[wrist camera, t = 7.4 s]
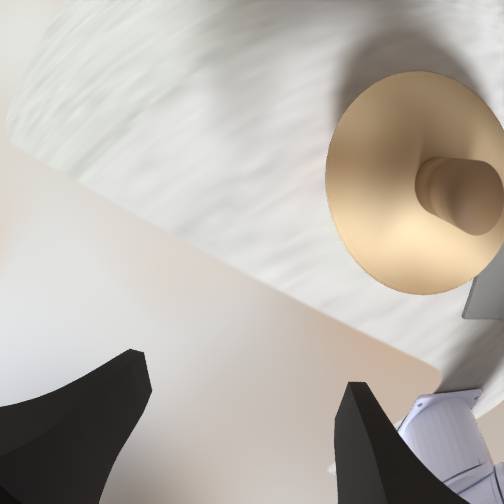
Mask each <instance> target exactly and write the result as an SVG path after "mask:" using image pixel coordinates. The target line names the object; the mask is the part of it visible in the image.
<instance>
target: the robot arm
mask: <svg viewBox="0 0 504 504" xmlns="http://www.w3.org/2000/svg"><path fill="white" fill-rule="evenodd" d="M151 393H152V388H151V383H150V379H149V374H148V370H147V365H146V360H145V355H144V352H140V351H137V350H132V349H129V350H127V351H125V352H123V353H122V354H120V355H118V356H117V357H115V358H113V359H112V360H110V361H108V362H107V363H105V364H103V365H102V366H100V367H98V368H97V369H95V370H93V371H92V372H90V373H88V374H86V375H85V376H83V377H81V378H79V379H77V380H75V381H73V382H72V383H69V384H68V385H66V386H64V387H62V388H59V389H57V390H55V391H53V392H50V393H48V394H45V395H43V396H40V397H37V398H34V399H31V400H27V401H24V402H20V403H17V404H13V405H8V406H3V407H0V504H99V500H100V497H101V494H102V492H103V489H104V486H105V483H106V481H107V478H108V476H109V473H110V471H111V469H112V466H113V464H114V462H115V460H116V458H117V456H118V454H119V452H120V451H121V449H122V447H123V446H124V444H125V442H126V441H127V439H128V437H129V436H130V434H131V432H132V431H133V429H134V427H135V426H136V424H137V422H138V421H139V419H140V417H141V416H142V414H143V412H144V410H145V407H146V405H147V403H148V400H149V398H150V395H151ZM481 394H482V390H481V389H474V390H467V391H459V392H450V393H440V394H428V395H421V396H419V397H418V398H417V399H416V401H415V403H414V405H413V407H412V408H411V410H410V412H409V414H408V415H407V417H406V419H405V420H404V422H403V424H402V425H401V427H400V428H399V430H398V432H397V430H396V429H395V427H394V426H393V424H392V423H391V422H390V420H389V419H388V417H387V416H386V414H385V412H384V411H383V409H382V408H381V406H380V405H379V403H378V401H377V400H376V398H375V397H374V395H373V393H372V392H371V390H370V388H369V386H368V385H367V383H366V382H348V385H347V387H346V390H345V393H344V396H343V399H342V401H341V404H340V407H339V409H338V412H337V415H336V417H335V429H334V448H335V461H336V474H337V487H338V504H504V463H503V462H500V463H499V464H498V465H495V464H494V463H493V461H492V458H491V456H490V453H489V450H488V448H487V445H486V443H485V441H484V438H483V436H482V434H481V431H480V429H479V427H478V424H477V422H476V420H475V418H474V415H473V413H472V411H471V409H472V408H473V406H474V405H475V403H476V402H477V400H478V399H479V397H480V396H481Z"/></svg>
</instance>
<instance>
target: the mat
mask: <svg viewBox="0 0 504 504" xmlns="http://www.w3.org/2000/svg"><path fill="white" fill-rule="evenodd" d="M462 318H463V319H504V242H503V244H502V246H501V248H500V249H499V251H498V252H497V254H496V255H495V257H494V258H493V259H492V261H491V262H490V263H489V264H488V265H487V266H486V268H484V269H483V270H482V271H481V272H480V273H479V274H478V275H477V276H475V278H474V281H473V285H472V288H471V291H470V294H469V297H468V300H467V303H466V306H465V309H464V312H463V314H462Z"/></svg>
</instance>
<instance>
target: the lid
mask: <svg viewBox="0 0 504 504" xmlns="http://www.w3.org/2000/svg"><path fill="white" fill-rule="evenodd" d="M325 180H326V194H327V200H328V206H329V210H330V213H331V217H332V220H333V223H334V225H335V227H336V230H337V232H338V234H339V236H340V239H341V240H342V242H343V244H344V245H345V247H346V249H347V251H348V252H349V254H350V255H351V256H352V258H353V259H354V260H355V261H356V263H357V264H358V265H359V266H360V267H361V268H362V269H363V270H364V271H365V272H366V273H367V274H369V275H370V276H371V277H372V278H374V279H375V280H376V281H378V282H380V283H382V284H383V285H385V286H387V287H389V288H392V289H394V290H397V291H399V292H404V293H408V294H415V295H431V294H438V293H443V292H447V291H449V290H452V289H455V288H457V287H459V286H461V285H463V284H465V283H467V282H468V281H470V280H471V279H473V278H474V277H475V276H477V275H478V274H479V273H480V272H481V271H482V270H483V269H484V268H486V266H487V265H488V264H489V263H490V262H491V261H492V259H493V258H494V257H495V255H496V254H497V252H498V251H499V249H500V248H501V246H502V244H503V242H504V130H503V128H502V126H501V124H500V122H499V120H498V119H497V117H496V116H495V114H494V113H493V112H492V110H491V109H490V108H489V107H488V106H487V104H486V103H485V102H484V101H483V100H482V99H481V98H480V97H479V96H478V95H477V94H475V93H474V92H473V91H472V90H470V89H469V88H468V87H466V86H465V85H463V84H462V83H460V82H458V81H456V80H454V79H452V78H450V77H447V76H444V75H441V74H438V73H432V72H427V71H408V72H402V73H397V74H394V75H391V76H388V77H385V78H383V79H381V80H380V81H378V82H376V83H374V84H373V85H371V86H370V87H369V88H367V89H366V90H365V91H363V92H362V93H361V94H360V95H359V96H358V97H357V98H356V99H355V100H354V101H353V102H352V103H351V104H350V106H349V107H348V108H347V110H346V111H345V113H344V114H343V115H342V117H341V119H340V121H339V123H338V125H337V127H336V129H335V131H334V134H333V136H332V139H331V142H330V145H329V150H328V155H327V160H326V173H325Z"/></svg>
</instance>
